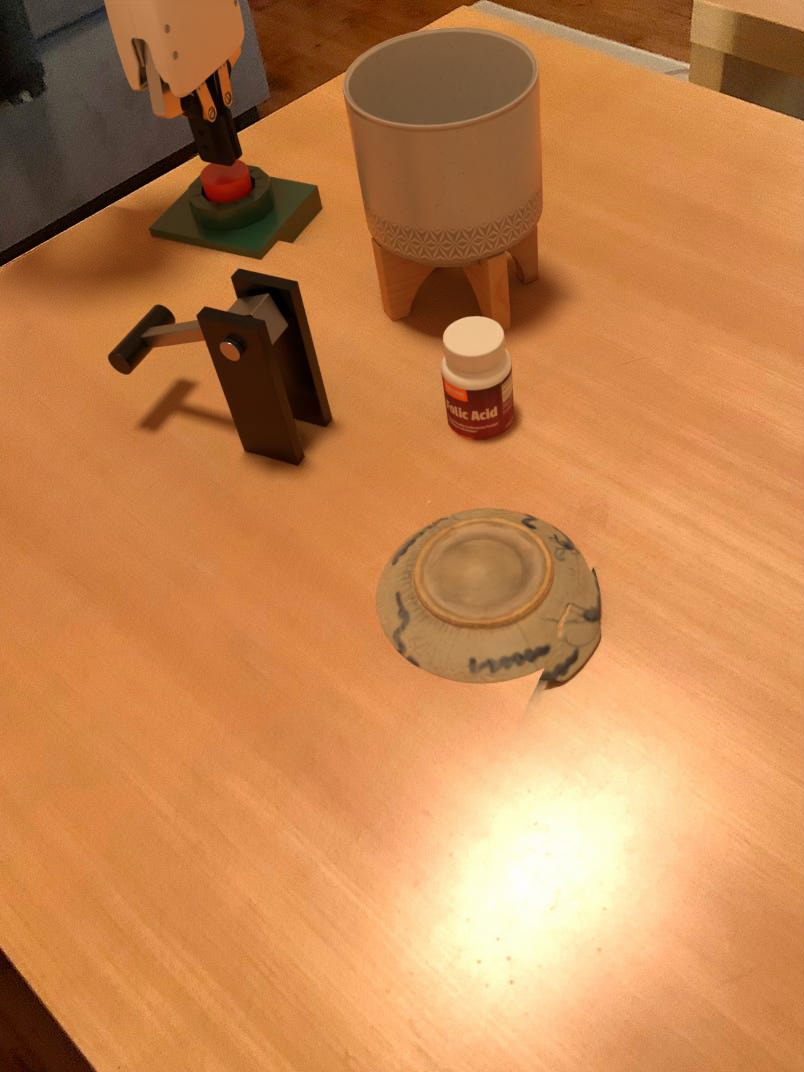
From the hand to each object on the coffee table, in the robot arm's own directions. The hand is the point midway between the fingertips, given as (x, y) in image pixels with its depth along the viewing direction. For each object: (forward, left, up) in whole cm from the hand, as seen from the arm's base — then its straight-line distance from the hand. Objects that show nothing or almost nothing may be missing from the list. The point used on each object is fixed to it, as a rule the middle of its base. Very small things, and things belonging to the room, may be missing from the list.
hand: (222, 158), depth 86 cm
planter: (+22, -7, -7) cm, 24 cm away
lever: (+9, -24, +2) cm, 26 cm away
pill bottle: (+27, -21, -7) cm, 35 cm away
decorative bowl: (+31, -36, -7) cm, 48 cm away
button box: (0, 0, -7) cm, 7 cm away
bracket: (+14, -25, -7) cm, 29 cm away
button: (0, 0, -3) cm, 3 cm away
